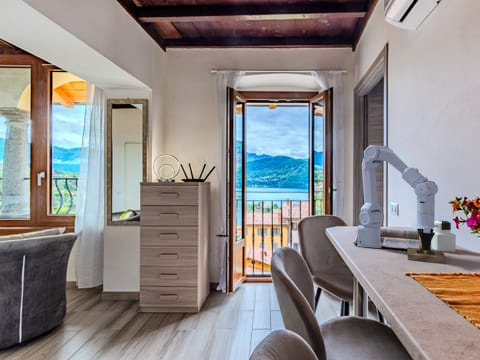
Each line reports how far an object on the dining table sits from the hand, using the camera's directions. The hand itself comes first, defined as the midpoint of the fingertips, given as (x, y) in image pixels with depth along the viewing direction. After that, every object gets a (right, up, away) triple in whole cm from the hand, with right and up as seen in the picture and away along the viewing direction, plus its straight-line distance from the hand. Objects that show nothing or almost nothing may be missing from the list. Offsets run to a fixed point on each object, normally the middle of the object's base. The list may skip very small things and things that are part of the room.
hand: (425, 248), depth 123 cm
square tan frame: (0, -3, 0) cm, 3 cm away
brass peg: (0, -2, 0) cm, 2 cm away
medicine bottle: (+14, -3, +12) cm, 19 cm away
